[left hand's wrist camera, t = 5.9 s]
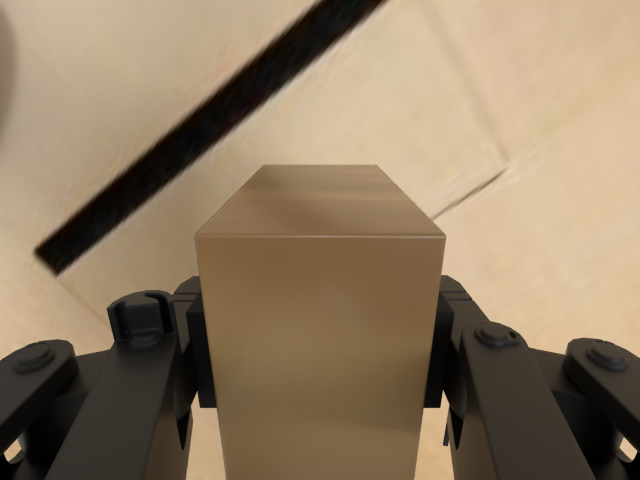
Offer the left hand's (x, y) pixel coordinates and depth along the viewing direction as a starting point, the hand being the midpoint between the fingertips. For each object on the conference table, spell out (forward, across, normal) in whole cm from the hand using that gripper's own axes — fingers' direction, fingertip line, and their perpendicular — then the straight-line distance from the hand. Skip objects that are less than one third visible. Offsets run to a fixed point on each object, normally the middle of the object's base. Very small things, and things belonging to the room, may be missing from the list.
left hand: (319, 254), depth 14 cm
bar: (+1, 0, -8) cm, 8 cm away
